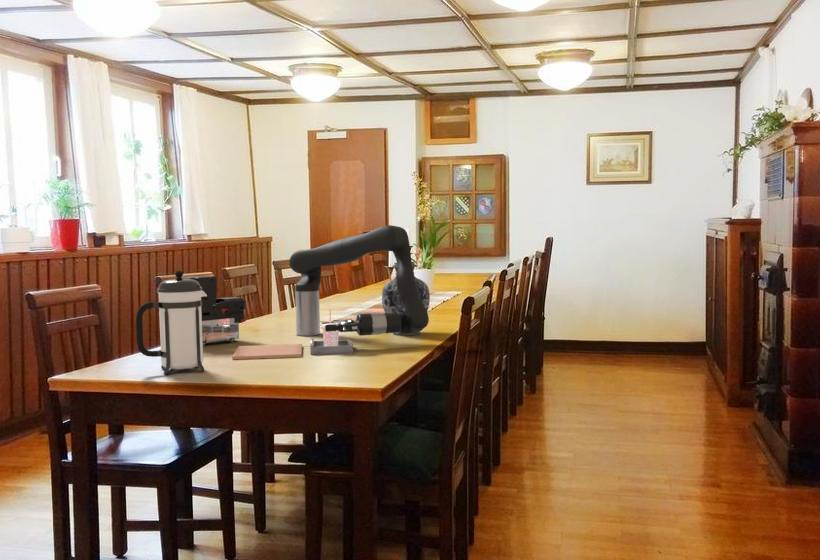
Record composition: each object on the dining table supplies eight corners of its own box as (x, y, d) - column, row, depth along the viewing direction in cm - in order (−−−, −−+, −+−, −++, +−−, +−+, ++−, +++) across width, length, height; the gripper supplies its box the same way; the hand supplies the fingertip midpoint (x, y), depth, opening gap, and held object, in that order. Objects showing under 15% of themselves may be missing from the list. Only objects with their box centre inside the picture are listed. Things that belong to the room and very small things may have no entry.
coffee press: (179, 364, 243) (175, 268, 241) (218, 368, 236) (215, 269, 233) (136, 374, 228) (132, 272, 225) (177, 378, 220) (173, 273, 218)
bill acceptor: (247, 341, 290) (245, 274, 288) (188, 348, 275) (186, 278, 273) (234, 338, 298) (232, 273, 296) (176, 345, 283) (174, 276, 281)
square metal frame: (310, 348, 271) (310, 337, 271) (350, 346, 273) (350, 336, 272) (310, 354, 257) (310, 343, 257) (352, 353, 259) (352, 342, 259)
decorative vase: (430, 337, 292) (428, 262, 290) (381, 338, 293) (378, 264, 291) (431, 329, 313) (429, 260, 312) (385, 330, 314) (382, 261, 312)
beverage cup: (325, 352, 261) (323, 311, 260) (320, 349, 267) (318, 309, 266) (342, 351, 263) (341, 309, 262) (337, 348, 269) (336, 308, 268)
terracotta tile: (238, 349, 272) (238, 346, 272) (302, 346, 275) (302, 343, 275) (232, 359, 250) (232, 356, 250) (301, 357, 253) (301, 354, 253)
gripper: (366, 311, 275) (319, 313, 270) (376, 315, 261) (327, 318, 257) (366, 332, 276) (319, 335, 271) (377, 337, 262) (327, 340, 257)
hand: (323, 326), depth 264 cm, fingers closed on beverage cup, 6 cm apart
